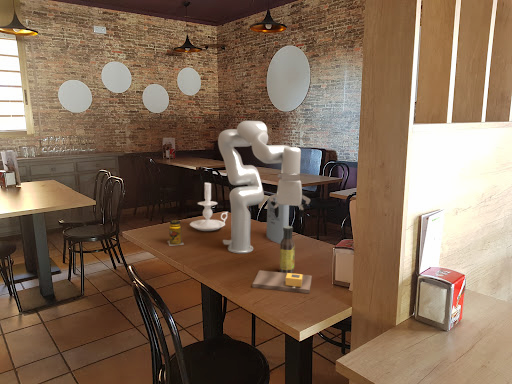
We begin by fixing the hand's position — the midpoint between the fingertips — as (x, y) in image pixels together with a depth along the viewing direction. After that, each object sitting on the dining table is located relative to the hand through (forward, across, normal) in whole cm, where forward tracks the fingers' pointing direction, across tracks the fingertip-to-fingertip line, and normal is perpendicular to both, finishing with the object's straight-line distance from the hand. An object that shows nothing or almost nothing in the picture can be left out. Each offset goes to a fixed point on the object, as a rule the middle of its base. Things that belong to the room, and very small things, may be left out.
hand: (288, 217), depth 163 cm
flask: (+24, -11, +43) cm, 51 cm away
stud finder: (+22, +5, -15) cm, 27 cm away
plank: (+24, 0, -12) cm, 27 cm away
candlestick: (+25, -52, +55) cm, 80 cm away
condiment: (+25, -61, +24) cm, 70 cm away
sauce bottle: (+24, 0, 0) cm, 24 cm away
